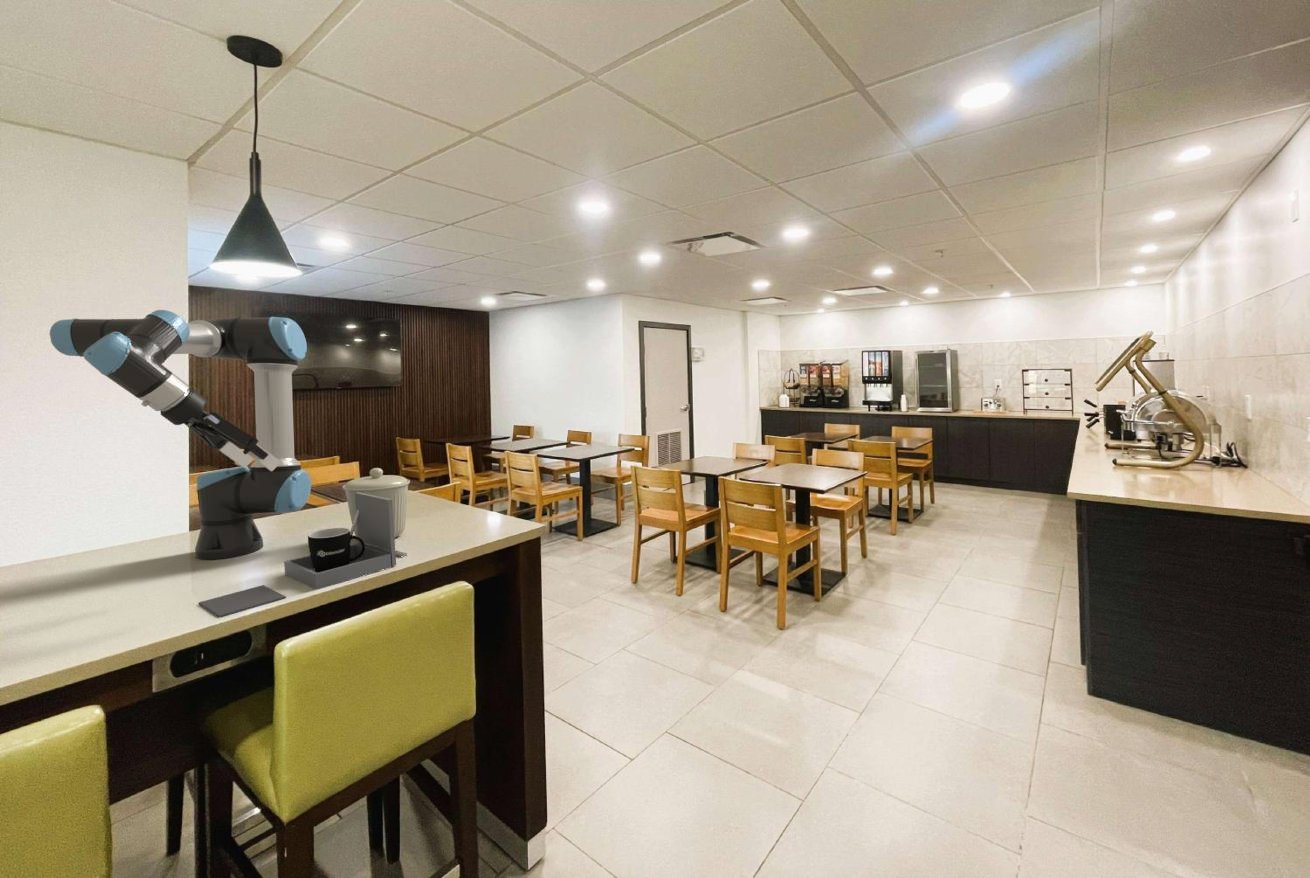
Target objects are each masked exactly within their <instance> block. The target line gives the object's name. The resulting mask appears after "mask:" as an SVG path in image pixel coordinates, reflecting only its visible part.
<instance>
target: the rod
mask: <svg viewBox="0 0 1310 878" xmlns="http://www.w3.org/2000/svg"><path fill="white" fill-rule="evenodd" d="M395 553H396V555H397V556H396V557H399V556H403V557H402V558H405V557H404V556H406V557H408V552H404V551H400V550H395Z"/></svg>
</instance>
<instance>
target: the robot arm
mask: <svg viewBox="0 0 1310 878" xmlns="http://www.w3.org/2000/svg"><path fill="white" fill-rule="evenodd" d="M49 338H50V342H51V345H52V346H53V347H54V349H55V350H57V351H58V352H59V353H60V354H62V355H66V356H69V357H80V358H81V357H82V358H83V359H84V360H85V361H87V363H89V364H90V365H91V367H94V369H96V370H97V371H98V372H99V373H100V374H102V375H103V376H105V377H107V378H108V379H109V380H111V381H112V382H114V383H115V384H117V385H118V386H120V387H121V388H122V389H124V390H125V391H127V392H128V393H130V394H131V395H133V396H134V397H136V398H137V399H139V400H140V401H142V402H141V406H143V407H147V406H149V407H150V408H151V409H152V410H154V411H156V412H160V416H162V418H164V419H166V420H167V421H169V422H170V423H171V424H172V425H175V426H181V425H183V424H184V425H186V427H188V428H189V429H190V430H191V431H192V432H193V433H194V434H195V435H196V436H197V437H198V438H200V440H202V441H203V442H204V443H205V444H206V445H207V446H208V447H210V448H214V449H215V450H218V451H219V452H221V453H222V454H223V455H225V456H226V457H228V458H229V459H230V460H232V461H233V462H234V463H236V464H238V466H236V467H229V468H223V469H222V468H221V469H217V470H213V471H208V472H204V473H202V474H201V473H200V475H198V476H197V478H196V492H197V501H198V509H199V510H198V511H199V519H200V531H199V534H198V538H197V541H196V544H195V547H194V550H195V553H194V554H195V558H196V559H200V560H201V559H202V560H218V559H220V560H221V559H226V558H233V557H239V556H243V555H244V556H245V555H247V554H251V553H254V552H257V551H259V550H261V549H262V548H263V547H264V539H263V536H262V535H261V533H260V531H259V528H258V527H257V525H256V522H255V521H254V515H258V514H260V515H261V514H279V515H282V514H286V513H296V512H298V511H300V510H302V508H303V507H304V506H305V505H306V504H307V501H308V500H309V498H310V494H311V491H312V490H311V489H312V480H311V479H312V478H311V477H310V474H309V472H307V471H305V470H304V469H302V464H301V462H300V461H299V460H298V459H296V458H295V439H294V438H295V437H294V432H295V431H294V409H293V407H294V406H293V405H294V404H293V401H294V400H293V383H292V382H293V377H292V376H293V372H294V371H296V370H297V369H298V366H299V364H298V361H301V360H304V358H305V357H306V354H307V351H308V350H307V349H308V348H307V345H308V344H307V339H306V337H305V334H304V331H303V330H302V328H301V326H300V325H299V324H298V323H297V321H295V320H293V319H291V318H289V317H279V316H261V317H260V316H259V317H256V316H254V317H249V316H248V317H238V316H237V317H235V316H234V317H226V318H225V317H224V318H217V319H195V320H192V321H189V322H188V323H187V322H186V320H185V319H184V318H183V317H181V315H178V314H177V313H175V312H173V311H171V310H167V309H166V310H165V309H156V310H154V311H152V312H151V313H148V314H147V315H145V317H143V318H112V319H111V318H109V319H108V318H71V319H68V318H67V319H60V320H57V321H56V322H54V323H53V324H52V326H51V327H50V329H49ZM187 354H188V355H191V354H192V355H193V356H196V357H199V358H216V359H224V360H225V359H226V360H233V361H234V360H237V361H246V366H247V367H248V368H250V370H252V371H253V374H254V379H253V380H254V405H255V407H254V408H255V428H256V430H255V435H256V438H255V437H253V436H252V435H250V434H249V433H247V432H245V431H244V430H242V429H241V428H239V427H238V426H236V425H234V424H233V423H231V422H229V421H227V420H226V419H225V418H223V417H222V416H221V415H220V414H218V413H217V412H214V411H213V412H210V413H208V412H207V411H205V409H204V408H205V407H206V406H207V403H208V400H207V399H206V398H205V397H204V396H202V395H201V394H200V393H199V392H197V390H195V389H194V388H193V389H192V388H190V386H189V384H188V383H187V382H185V381H184V380H182V379H181V378H180V377H179V376H178V375H176V374H175V373H173V372H172V371H171V370H170V369H168V368H167V367H166V366H164V365H163V364H164V363H165V361H167V359H169V357H171V356H172V355H187ZM253 460H255V461H254V462H253V463H252V461H253ZM250 463H252V464H251V465H250V469H249V467H248V466H249V464H250Z"/></svg>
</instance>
